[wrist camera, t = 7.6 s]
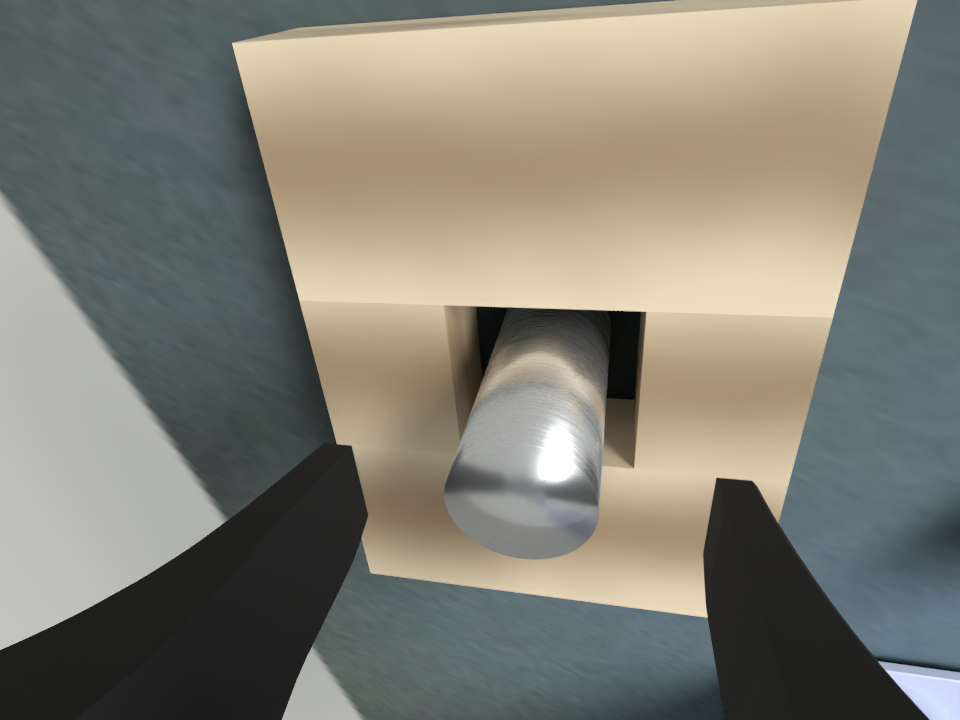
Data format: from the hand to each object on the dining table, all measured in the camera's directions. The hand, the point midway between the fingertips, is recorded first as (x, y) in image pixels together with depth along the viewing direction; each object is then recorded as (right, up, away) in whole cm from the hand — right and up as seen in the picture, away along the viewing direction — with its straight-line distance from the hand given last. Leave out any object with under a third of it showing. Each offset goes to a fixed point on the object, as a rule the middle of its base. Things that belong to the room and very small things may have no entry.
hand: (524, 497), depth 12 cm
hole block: (+1, +4, +5) cm, 7 cm away
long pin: (+1, +4, +5) cm, 7 cm away
